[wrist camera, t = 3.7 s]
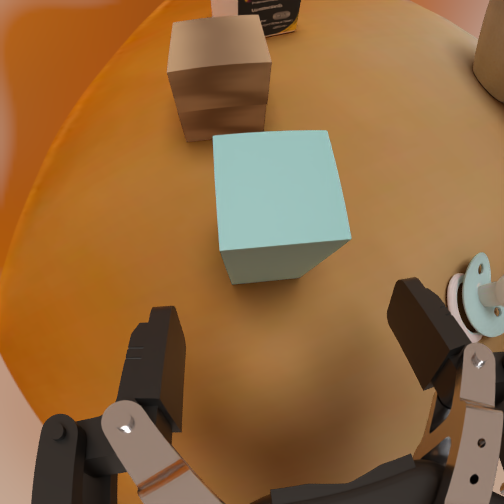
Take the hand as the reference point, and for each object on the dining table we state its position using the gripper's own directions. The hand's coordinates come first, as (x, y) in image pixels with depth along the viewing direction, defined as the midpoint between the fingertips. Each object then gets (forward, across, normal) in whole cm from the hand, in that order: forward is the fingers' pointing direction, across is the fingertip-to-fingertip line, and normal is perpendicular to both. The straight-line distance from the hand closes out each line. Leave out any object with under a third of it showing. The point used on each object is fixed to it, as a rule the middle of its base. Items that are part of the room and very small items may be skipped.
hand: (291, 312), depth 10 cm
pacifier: (+5, -17, +8) cm, 20 cm away
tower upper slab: (+15, +2, -8) cm, 17 cm away
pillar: (+10, 0, +3) cm, 10 cm away
